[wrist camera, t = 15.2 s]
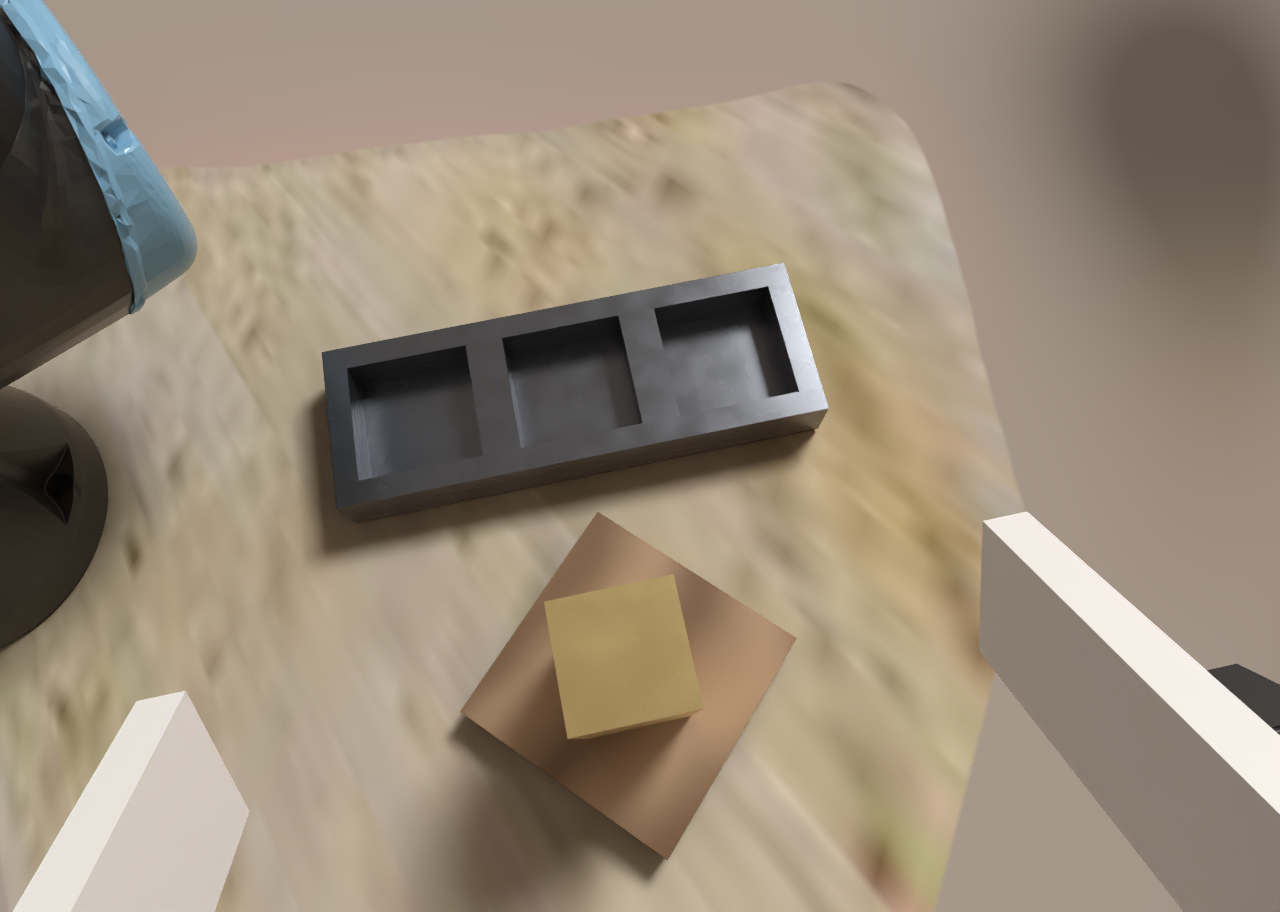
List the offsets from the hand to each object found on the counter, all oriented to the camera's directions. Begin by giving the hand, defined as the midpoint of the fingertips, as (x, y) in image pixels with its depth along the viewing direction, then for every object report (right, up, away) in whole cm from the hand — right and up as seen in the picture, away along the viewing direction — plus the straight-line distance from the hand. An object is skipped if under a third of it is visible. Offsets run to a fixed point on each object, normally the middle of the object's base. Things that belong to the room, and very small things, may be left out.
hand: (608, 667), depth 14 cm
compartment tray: (-3, +7, +34) cm, 34 cm away
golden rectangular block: (0, -7, +27) cm, 28 cm away
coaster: (0, -8, +29) cm, 30 cm away
